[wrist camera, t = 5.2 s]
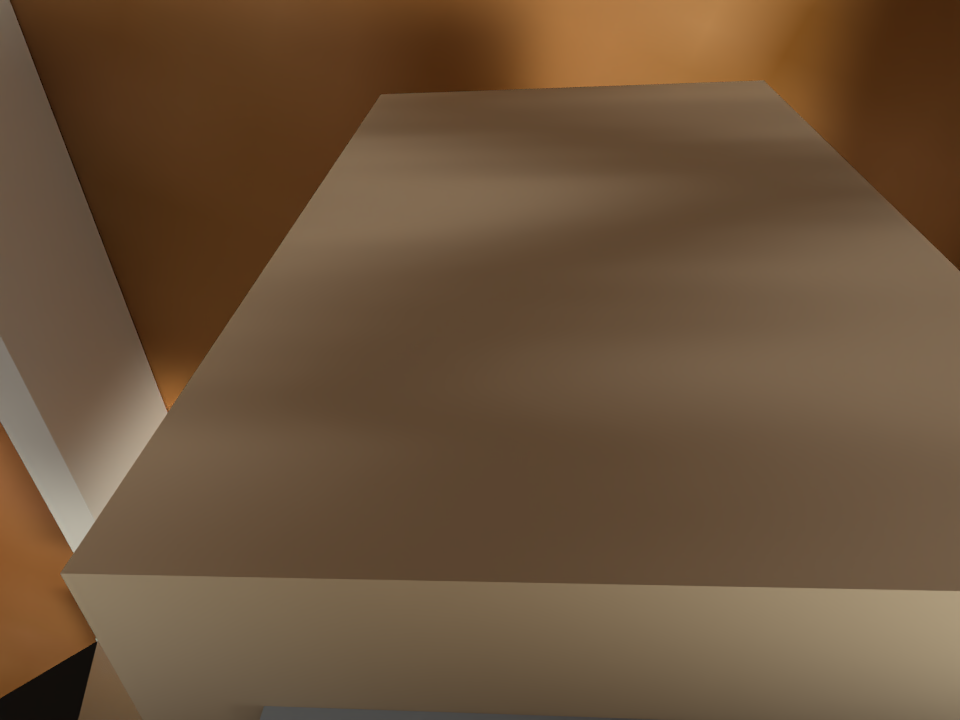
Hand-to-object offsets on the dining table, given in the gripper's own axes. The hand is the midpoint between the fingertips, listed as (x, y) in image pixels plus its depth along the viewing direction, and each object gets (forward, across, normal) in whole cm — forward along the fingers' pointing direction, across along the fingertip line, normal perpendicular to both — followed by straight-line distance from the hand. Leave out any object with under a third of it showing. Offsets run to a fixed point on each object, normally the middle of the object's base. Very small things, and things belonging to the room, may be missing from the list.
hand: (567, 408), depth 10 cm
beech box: (+2, 0, 0) cm, 2 cm away
